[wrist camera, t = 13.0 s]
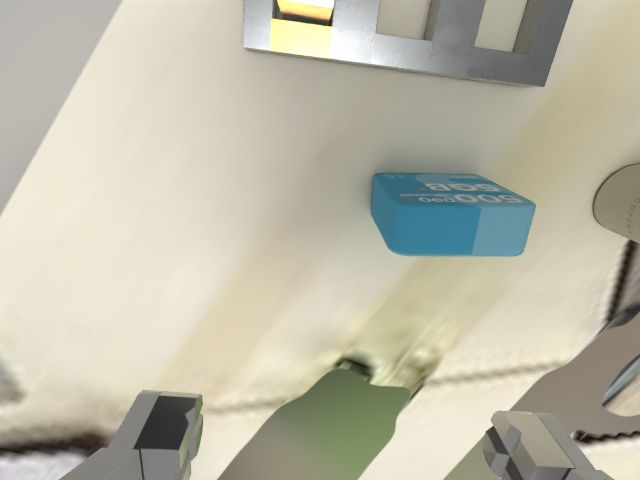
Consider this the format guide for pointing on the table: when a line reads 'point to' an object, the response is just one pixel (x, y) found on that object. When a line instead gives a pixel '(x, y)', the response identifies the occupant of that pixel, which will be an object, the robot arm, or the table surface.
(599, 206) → the travel mug
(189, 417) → the robot arm
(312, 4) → the steel peg
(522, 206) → the data package
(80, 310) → the table surface
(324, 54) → the hole rail
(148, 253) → the table surface
